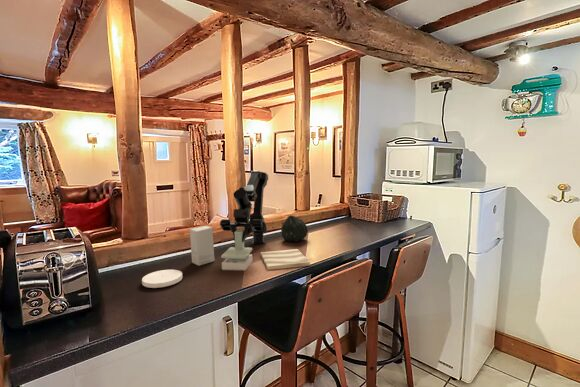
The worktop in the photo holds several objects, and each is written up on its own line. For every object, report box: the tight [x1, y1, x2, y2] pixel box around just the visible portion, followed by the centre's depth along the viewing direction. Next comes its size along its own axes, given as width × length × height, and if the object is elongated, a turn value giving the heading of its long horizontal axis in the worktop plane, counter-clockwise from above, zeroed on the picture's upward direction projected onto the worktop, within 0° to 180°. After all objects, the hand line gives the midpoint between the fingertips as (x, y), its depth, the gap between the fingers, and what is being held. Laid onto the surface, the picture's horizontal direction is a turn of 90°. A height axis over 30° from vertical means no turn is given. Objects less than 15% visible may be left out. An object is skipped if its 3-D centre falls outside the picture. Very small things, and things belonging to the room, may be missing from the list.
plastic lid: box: [141, 269, 183, 289], centre depth 116 cm, size 14×14×2 cm
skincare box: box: [189, 225, 216, 266], centre depth 137 cm, size 8×7×16 cm
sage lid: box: [220, 229, 253, 259], centre depth 132 cm, size 12×10×10 cm
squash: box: [280, 214, 309, 243], centre depth 172 cm, size 14×15×15 cm
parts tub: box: [221, 253, 254, 271], centre depth 133 cm, size 12×10×3 cm
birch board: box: [260, 248, 311, 271], centre depth 138 cm, size 20×18×2 cm
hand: (238, 241), depth 134 cm, fingers closed on sage lid, 3 cm apart
